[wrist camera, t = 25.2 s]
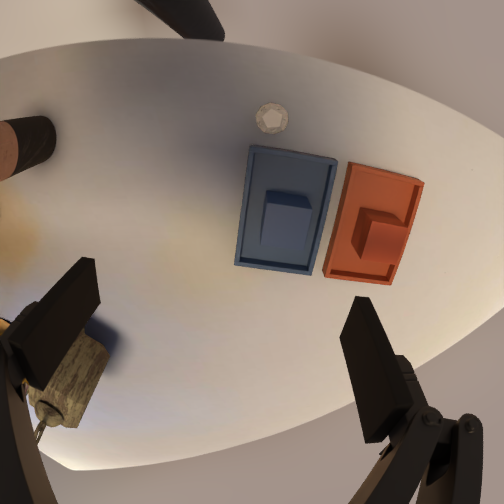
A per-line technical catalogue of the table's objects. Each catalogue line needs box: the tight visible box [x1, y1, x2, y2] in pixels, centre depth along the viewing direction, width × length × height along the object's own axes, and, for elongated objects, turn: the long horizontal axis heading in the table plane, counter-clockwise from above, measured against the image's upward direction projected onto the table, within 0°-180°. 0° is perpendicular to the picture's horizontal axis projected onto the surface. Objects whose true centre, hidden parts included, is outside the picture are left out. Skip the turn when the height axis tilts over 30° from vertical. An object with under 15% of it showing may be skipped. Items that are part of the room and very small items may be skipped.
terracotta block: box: [351, 207, 409, 265], centre depth 36 cm, size 5×5×5 cm
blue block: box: [260, 191, 313, 251], centre depth 36 cm, size 5×5×5 cm
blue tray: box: [234, 144, 338, 276], centre depth 37 cm, size 15×10×2 cm
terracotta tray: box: [322, 162, 424, 285], centre depth 38 cm, size 15×10×2 cm
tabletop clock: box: [29, 326, 110, 445], centre depth 39 cm, size 14×9×25 cm, turn 146°
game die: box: [256, 103, 288, 134], centre depth 32 cm, size 4×4×3 cm
